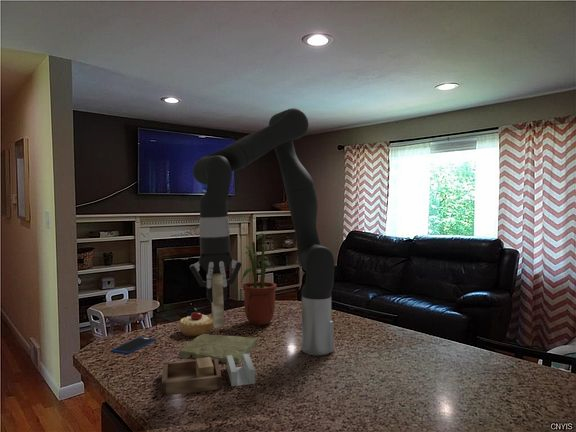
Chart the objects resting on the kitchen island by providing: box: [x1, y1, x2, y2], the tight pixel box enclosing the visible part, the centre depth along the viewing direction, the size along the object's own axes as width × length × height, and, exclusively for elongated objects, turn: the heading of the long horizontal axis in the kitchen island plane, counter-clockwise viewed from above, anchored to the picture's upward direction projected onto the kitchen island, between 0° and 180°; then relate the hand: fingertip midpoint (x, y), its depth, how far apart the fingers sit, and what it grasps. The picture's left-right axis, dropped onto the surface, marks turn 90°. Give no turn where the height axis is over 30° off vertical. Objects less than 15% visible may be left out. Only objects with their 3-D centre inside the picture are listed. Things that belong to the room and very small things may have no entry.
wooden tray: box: [161, 358, 223, 397], centre depth 101 cm, size 14×12×4 cm
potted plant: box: [241, 233, 277, 326], centre depth 153 cm, size 17×16×35 cm
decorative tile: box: [178, 333, 258, 364], centre depth 123 cm, size 19×20×4 cm
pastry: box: [178, 308, 214, 338], centre depth 142 cm, size 12×12×9 cm
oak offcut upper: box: [195, 357, 214, 377], centre depth 101 cm, size 4×6×2 cm, turn 19°
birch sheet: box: [210, 273, 225, 329], centre depth 102 cm, size 2×9×13 cm, turn 15°
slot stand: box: [226, 353, 256, 387], centre depth 104 cm, size 6×11×4 cm, turn 15°
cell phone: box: [110, 336, 157, 355], centre depth 129 cm, size 7×14×1 cm, turn 162°
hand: (217, 301), depth 102 cm, fingers closed on birch sheet, 2 cm apart
